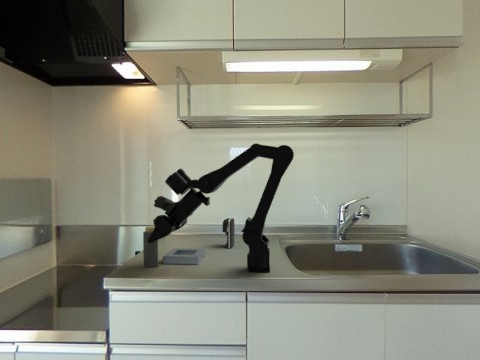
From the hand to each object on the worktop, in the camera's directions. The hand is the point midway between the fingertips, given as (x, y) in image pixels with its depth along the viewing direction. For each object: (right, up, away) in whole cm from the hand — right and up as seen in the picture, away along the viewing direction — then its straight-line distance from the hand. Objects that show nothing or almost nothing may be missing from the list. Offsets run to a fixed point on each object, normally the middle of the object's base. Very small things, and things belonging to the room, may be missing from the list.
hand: (153, 239), depth 110 cm
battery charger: (+23, -8, +29) cm, 38 cm away
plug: (-1, -9, 0) cm, 9 cm away
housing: (+9, -8, +8) cm, 15 cm away
